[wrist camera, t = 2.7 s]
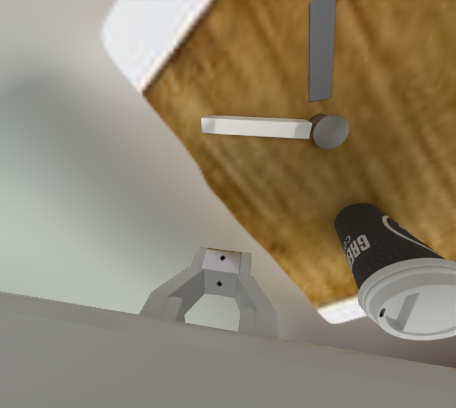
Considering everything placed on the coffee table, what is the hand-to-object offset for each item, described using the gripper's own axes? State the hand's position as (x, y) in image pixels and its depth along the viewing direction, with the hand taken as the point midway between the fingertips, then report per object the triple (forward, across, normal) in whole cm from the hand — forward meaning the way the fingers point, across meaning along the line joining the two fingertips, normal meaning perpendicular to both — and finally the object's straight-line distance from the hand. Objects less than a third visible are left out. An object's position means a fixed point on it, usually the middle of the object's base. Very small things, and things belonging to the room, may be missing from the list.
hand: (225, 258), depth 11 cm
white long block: (+19, -1, -5) cm, 20 cm away
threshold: (+20, -7, -12) cm, 24 cm away
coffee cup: (+20, -18, +8) cm, 28 cm away
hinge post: (+20, -9, -5) cm, 22 cm away
